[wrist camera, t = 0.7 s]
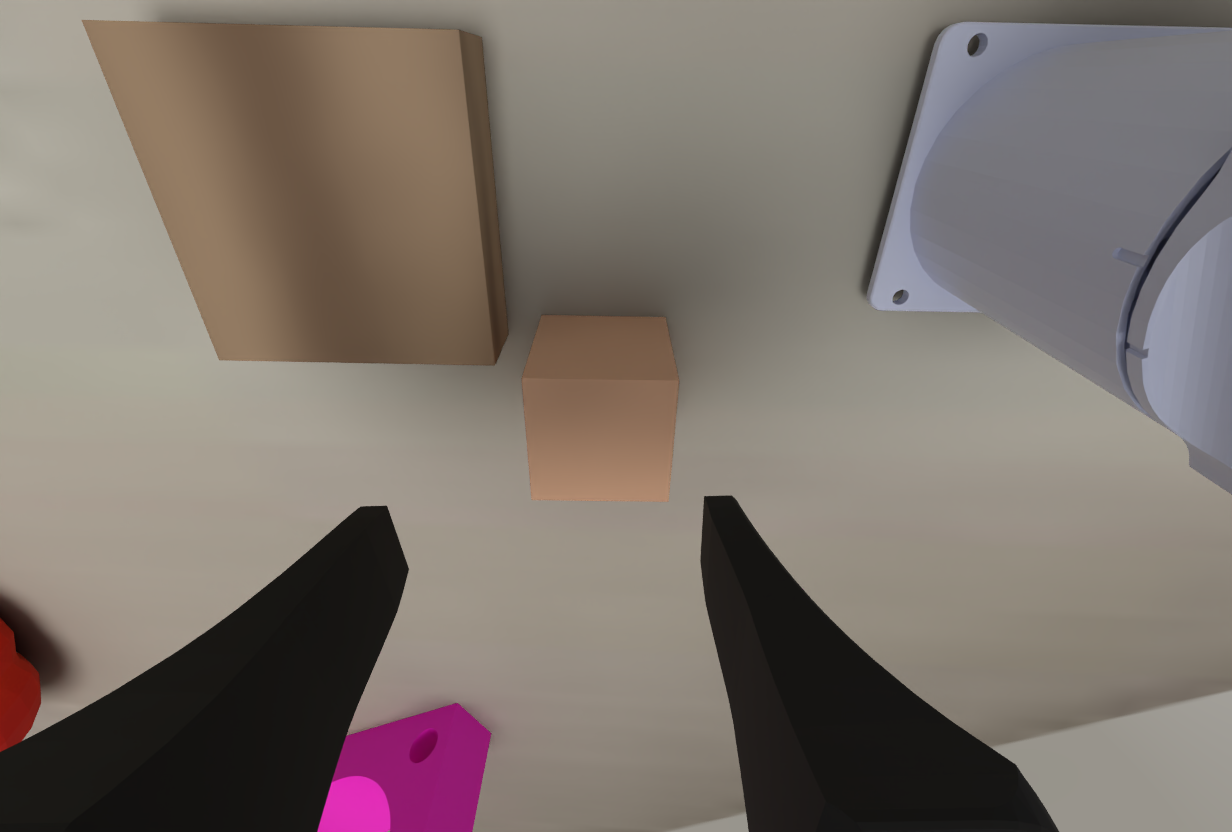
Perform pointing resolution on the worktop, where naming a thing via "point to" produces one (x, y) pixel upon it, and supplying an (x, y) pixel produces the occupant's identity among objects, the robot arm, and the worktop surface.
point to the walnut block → (320, 185)
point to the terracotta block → (600, 408)
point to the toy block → (410, 775)
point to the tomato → (16, 691)
